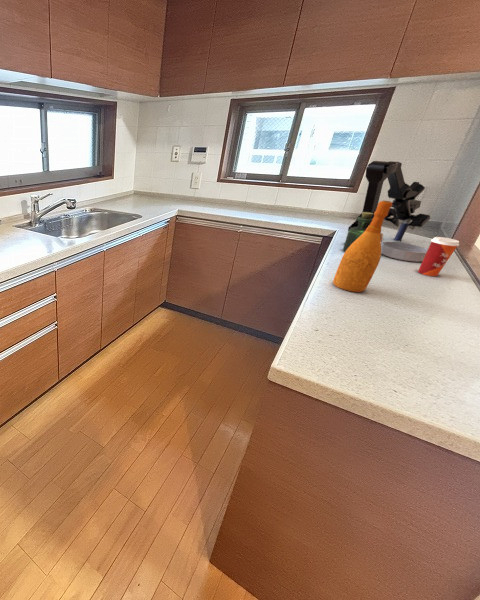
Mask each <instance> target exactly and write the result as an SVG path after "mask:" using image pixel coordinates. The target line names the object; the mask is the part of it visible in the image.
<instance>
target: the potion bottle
mask: <svg viewBox="0 0 480 600" xmlns="http://www.w3.org/2000/svg"><path fill="white" fill-rule="evenodd" d="M361 213H362V217H358V216H357V217H358V218H357V217H356V219H355V221H356V220H357V221H359V222H358V226H357V227H353V228H351V229H349V231H348V230H347V234H346V237H345V241H344V243H345V244H343V248H342V251H343V252H344V253H345V252H346V250H347V249H348V248H349V246H350V245H351V244H352V243H353V242H354V241H355V240H356V239H358V238H359V237H360V236H361V235H362V234H363V233H364V232H365V230H366V229H367V228H366V226H367V225H368V224H369V223H370V222H372V220H373V219H371V216H372V215H373V213H369V212H362V211H361Z"/></svg>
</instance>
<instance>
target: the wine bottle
mask: <svg viewBox="0 0 480 600" xmlns="http://www.w3.org/2000/svg"><path fill="white" fill-rule="evenodd" d="M392 202H393V201H390V200H379V202H378V206H377V209H376V211H375V212H374V215H375V216H374V218H373V220H372V222H371V224H370V225H369V226H368V228H367V229H366V230H365V232H364V233H363V234H362V235H361V236H360V237H359V238H358V239H356V240H355V241H354V242H353V243H352V244H351V245H350V246H349V248H348V249H347V250H346V252H344V253H343V255H342V257H341V259H340V262H339V264H338V267H337V269H336V272H335V275H334V278H333V280H332V283H333V285H334V286H335V287H337V288H339V289H341V290H344V291H348V292H355V293H359V292H363V291H365V290H366V289H367V287H368V286H369V284H370V282H371V280H372V278H373V277H374V274H375V272H376V270H377V268H378V266H379V264H380V261H381V257H382V254H381V245H382V243H383V242H384V241H383V240H384V233H382V226H383V223H384V221H385V220H384V218H385V217H386V216H387V215H388V211H389V209H390V208H392V207H391V206H392Z"/></svg>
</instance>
